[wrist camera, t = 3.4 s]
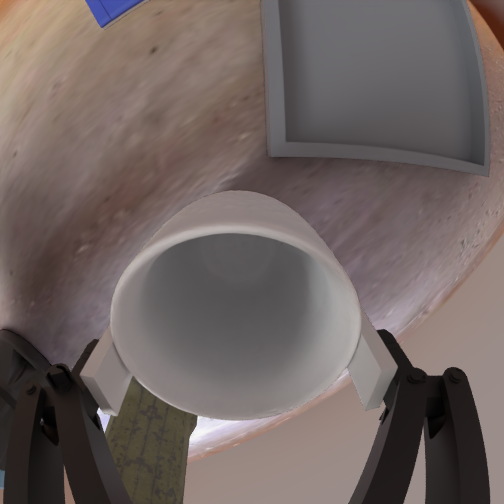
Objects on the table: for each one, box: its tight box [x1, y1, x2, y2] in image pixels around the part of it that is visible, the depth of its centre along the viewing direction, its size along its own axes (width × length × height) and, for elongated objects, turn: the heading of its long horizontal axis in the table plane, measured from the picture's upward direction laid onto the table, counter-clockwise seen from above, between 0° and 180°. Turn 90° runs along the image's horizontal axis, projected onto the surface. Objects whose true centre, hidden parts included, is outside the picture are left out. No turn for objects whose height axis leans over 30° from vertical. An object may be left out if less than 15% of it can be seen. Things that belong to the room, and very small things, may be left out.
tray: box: [260, 0, 490, 177], centre depth 15 cm, size 22×22×3 cm
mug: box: [110, 190, 362, 420], centre depth 17 cm, size 15×11×13 cm
